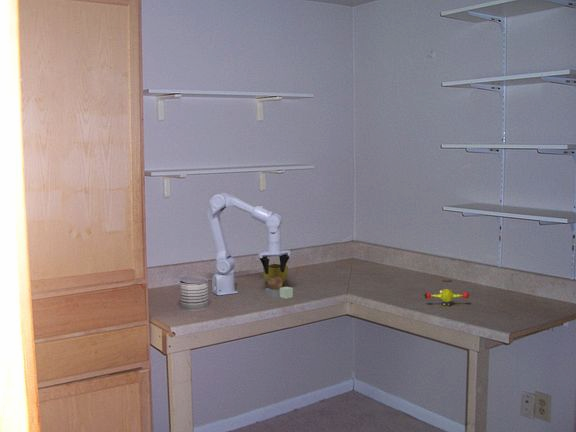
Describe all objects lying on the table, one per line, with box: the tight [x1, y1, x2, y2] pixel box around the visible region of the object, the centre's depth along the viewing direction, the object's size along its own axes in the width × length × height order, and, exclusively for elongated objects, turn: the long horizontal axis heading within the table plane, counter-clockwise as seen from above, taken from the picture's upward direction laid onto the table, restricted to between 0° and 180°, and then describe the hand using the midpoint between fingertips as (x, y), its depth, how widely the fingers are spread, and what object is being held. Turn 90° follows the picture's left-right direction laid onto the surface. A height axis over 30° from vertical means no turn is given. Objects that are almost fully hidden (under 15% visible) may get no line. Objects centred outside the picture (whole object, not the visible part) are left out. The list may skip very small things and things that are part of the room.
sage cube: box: [279, 286, 294, 299], centre depth 272 cm, size 4×4×4 cm
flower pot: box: [262, 263, 289, 285], centre depth 294 cm, size 9×9×9 cm
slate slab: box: [264, 287, 280, 298], centre depth 276 cm, size 6×6×3 cm
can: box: [179, 275, 209, 312], centre depth 255 cm, size 11×11×12 cm
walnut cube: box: [267, 277, 283, 290], centre depth 275 cm, size 4×4×4 cm
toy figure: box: [424, 288, 470, 307], centre depth 255 cm, size 18×6×7 cm, turn 90°
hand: (274, 272), depth 275 cm, fingers open, 7 cm apart
